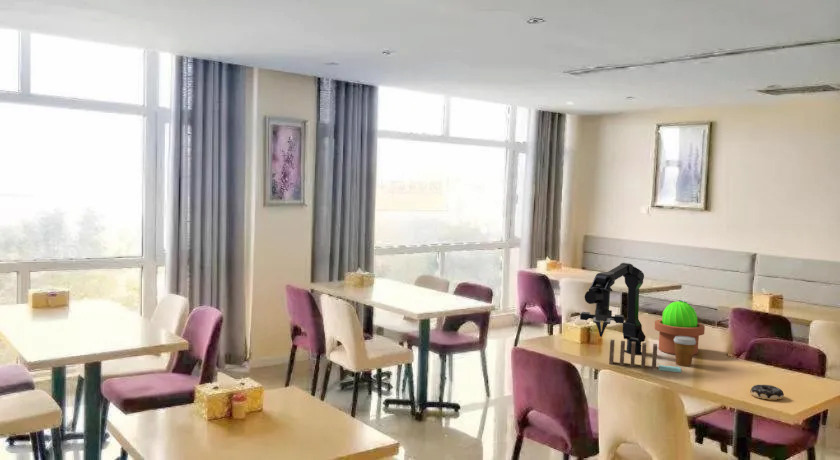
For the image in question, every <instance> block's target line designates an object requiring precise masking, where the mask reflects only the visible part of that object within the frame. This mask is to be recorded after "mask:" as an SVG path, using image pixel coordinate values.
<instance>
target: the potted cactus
mask: <svg viewBox="0 0 840 460" xmlns="http://www.w3.org/2000/svg"><path fill="white" fill-rule="evenodd" d="M661 314H662V316H661V319H656V320H654V330H655V331H657V332H659V333H658V334H659V335H658V337H659V338H658V350H659V351H661V352H662V353H666V354H669V355H675V343H674V338H675V336H688V337H692V338H695V340H696V344H695V347H694V352H693V356H694V355H697V354H698V353H699V339H700V338H699V336H704V335H705V325H704V324H703V323H699V322H698V319H699V316H698V315H697V313H696V310H695V309H694V307H693V306H692V305H691V304H689V303H688V302H687V301H685V300H684V301H683V300H676V301H673V302H670V303H669V304H668V305H666V307H665V309H664V310H663V312H662V313H661Z"/></svg>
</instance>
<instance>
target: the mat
mask: <svg viewBox="0 0 840 460" xmlns="http://www.w3.org/2000/svg"><path fill="white" fill-rule="evenodd" d="M658 371H661V372H672V373H673V372H674V373H682V368H681V366H673V365H661V364H658Z"/></svg>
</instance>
